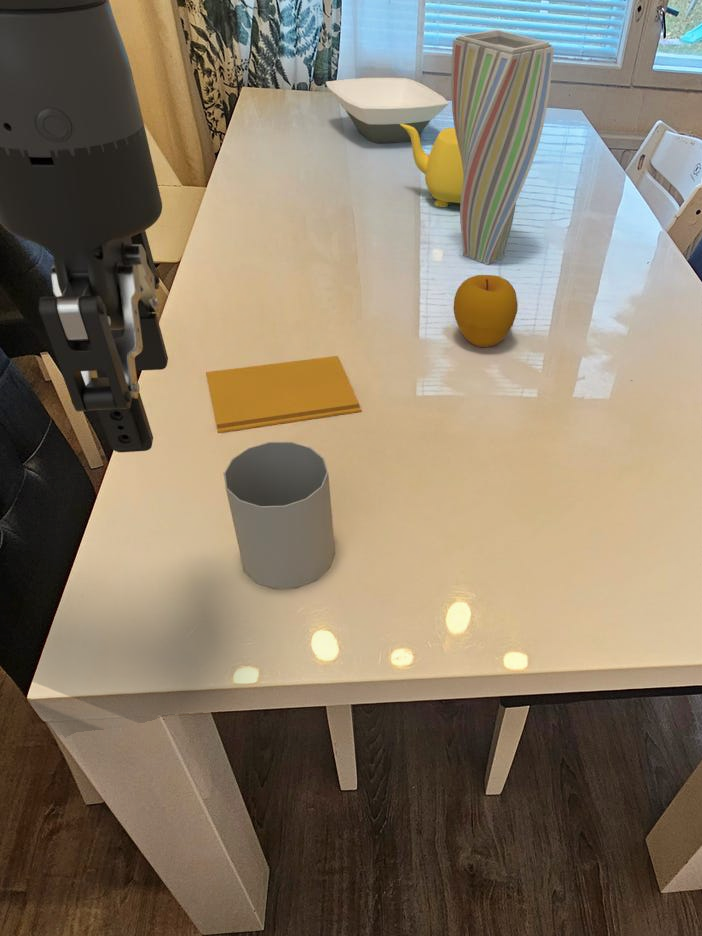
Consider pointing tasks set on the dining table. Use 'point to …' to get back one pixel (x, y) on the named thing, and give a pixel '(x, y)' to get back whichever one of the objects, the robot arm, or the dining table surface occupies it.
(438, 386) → the dining table surface
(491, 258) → the vase
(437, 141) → the teapot
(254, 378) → the orange rectangular slab
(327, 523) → the cup
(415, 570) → the dining table surface
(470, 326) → the apple
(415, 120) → the bowl
